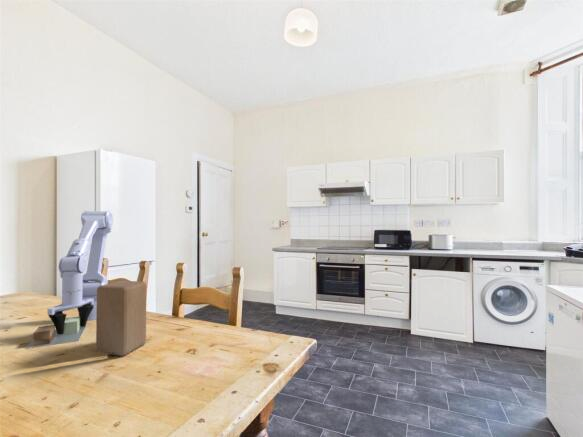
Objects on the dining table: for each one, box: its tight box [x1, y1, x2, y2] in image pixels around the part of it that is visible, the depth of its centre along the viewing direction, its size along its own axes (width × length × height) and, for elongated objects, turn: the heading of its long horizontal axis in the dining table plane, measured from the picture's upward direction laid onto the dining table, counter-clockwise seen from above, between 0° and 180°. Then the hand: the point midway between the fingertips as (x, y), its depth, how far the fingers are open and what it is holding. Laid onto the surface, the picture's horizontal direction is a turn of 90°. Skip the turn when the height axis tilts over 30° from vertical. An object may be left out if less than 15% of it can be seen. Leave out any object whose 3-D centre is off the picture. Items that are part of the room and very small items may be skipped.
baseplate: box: [24, 325, 87, 350], centre depth 98 cm, size 13×16×1 cm
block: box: [95, 280, 148, 357], centre depth 91 cm, size 10×10×20 cm
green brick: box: [63, 316, 80, 335], centre depth 102 cm, size 4×6×4 cm, turn 28°
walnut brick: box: [32, 324, 56, 346], centre depth 94 cm, size 4×6×4 cm, turn 27°
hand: (71, 330), depth 102 cm, fingers closed on green brick, 7 cm apart
